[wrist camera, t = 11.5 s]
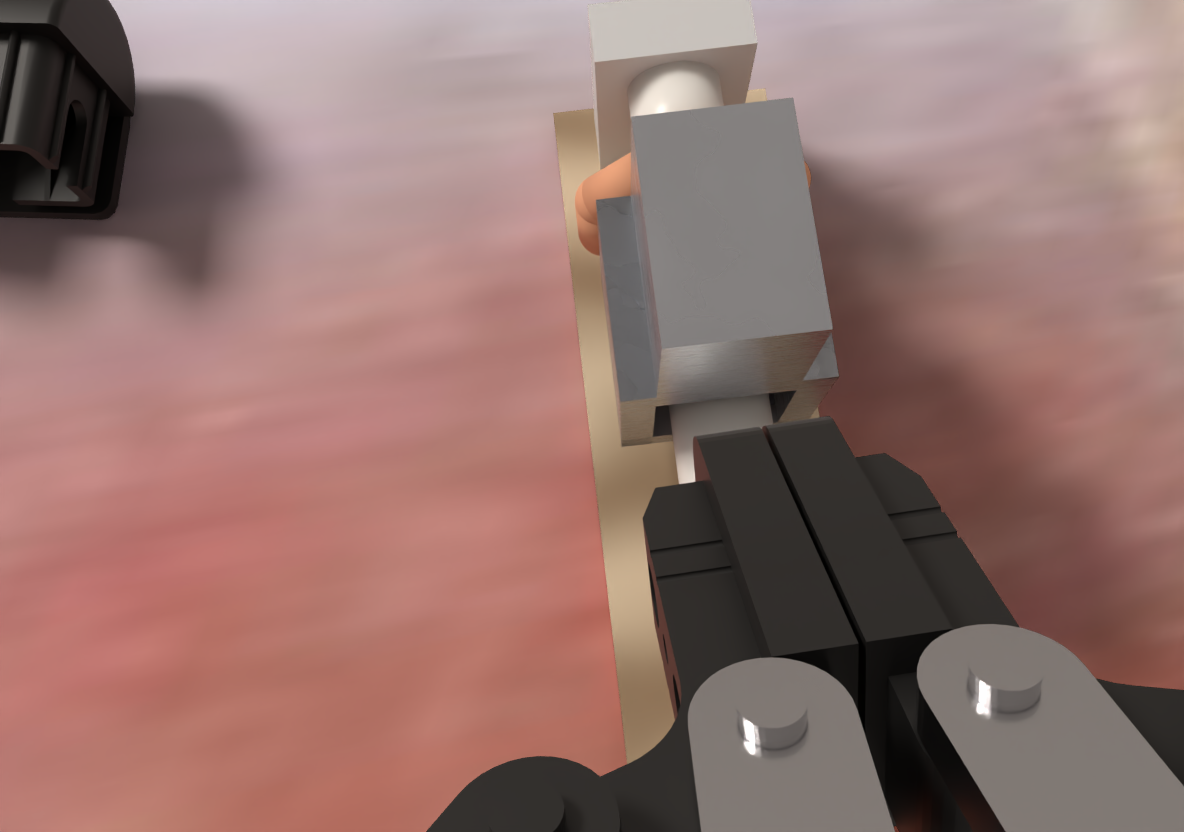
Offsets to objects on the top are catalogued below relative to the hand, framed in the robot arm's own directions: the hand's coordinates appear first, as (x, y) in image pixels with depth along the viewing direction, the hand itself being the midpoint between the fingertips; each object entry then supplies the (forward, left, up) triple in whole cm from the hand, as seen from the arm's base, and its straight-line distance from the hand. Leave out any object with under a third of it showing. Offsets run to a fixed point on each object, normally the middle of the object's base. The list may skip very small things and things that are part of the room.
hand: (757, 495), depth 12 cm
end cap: (+7, +30, -26) cm, 41 cm away
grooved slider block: (+8, +2, -23) cm, 24 cm away
